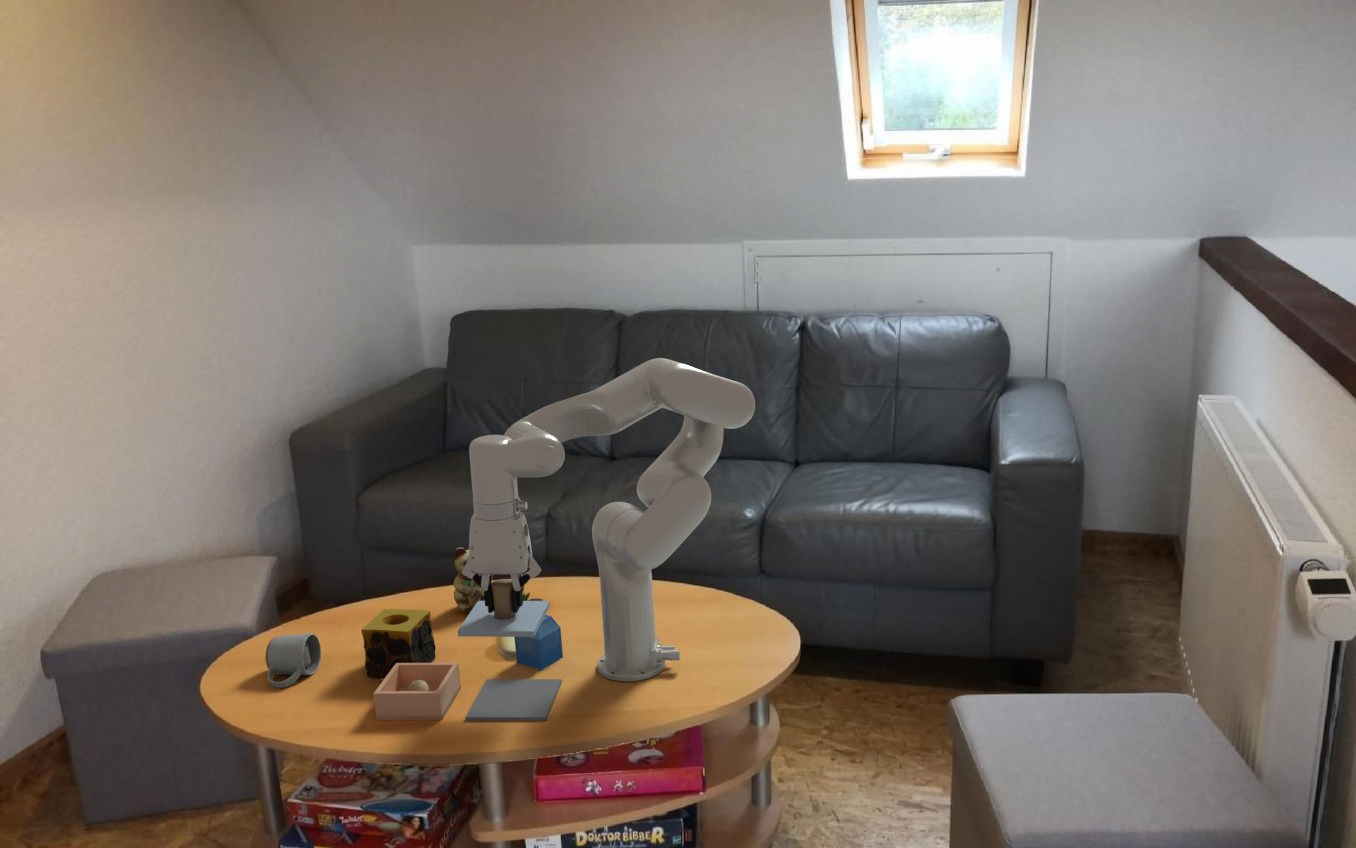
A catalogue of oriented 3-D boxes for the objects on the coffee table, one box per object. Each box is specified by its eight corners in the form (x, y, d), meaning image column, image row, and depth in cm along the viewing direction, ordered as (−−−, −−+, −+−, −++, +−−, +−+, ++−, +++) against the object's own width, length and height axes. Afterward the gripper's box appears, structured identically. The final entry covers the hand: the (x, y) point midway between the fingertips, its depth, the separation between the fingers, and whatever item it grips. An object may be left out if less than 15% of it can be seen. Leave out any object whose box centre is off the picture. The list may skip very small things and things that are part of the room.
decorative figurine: (461, 620, 234) (454, 552, 230) (449, 607, 241) (442, 541, 237) (505, 609, 238) (499, 542, 235) (492, 596, 245) (485, 531, 242)
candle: (415, 682, 207) (409, 632, 205) (365, 679, 210) (359, 630, 207) (437, 657, 217) (432, 609, 215) (389, 655, 219) (383, 607, 217)
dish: (461, 688, 204) (458, 662, 203) (442, 720, 193) (439, 693, 192) (399, 688, 205) (396, 663, 204) (376, 719, 194) (373, 693, 193)
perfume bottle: (562, 657, 214) (558, 598, 211) (541, 670, 209) (536, 610, 206) (538, 650, 218) (533, 593, 215) (516, 663, 213) (511, 604, 210)
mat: (561, 682, 204) (561, 679, 204) (546, 720, 191) (545, 717, 191) (486, 682, 206) (486, 679, 206) (465, 720, 192) (465, 717, 192)
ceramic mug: (283, 663, 218) (278, 626, 216) (324, 663, 217) (318, 627, 215) (258, 690, 208) (251, 652, 206) (300, 690, 207) (294, 652, 205)
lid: (549, 606, 200) (547, 569, 198) (534, 636, 187) (531, 597, 186) (478, 606, 201) (475, 569, 200) (458, 636, 189) (454, 597, 187)
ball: (432, 694, 200) (430, 676, 199) (426, 704, 197) (424, 685, 196) (412, 694, 201) (410, 676, 200) (406, 704, 197) (404, 685, 196)
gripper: (549, 501, 192) (556, 601, 197) (455, 502, 194) (463, 601, 198) (540, 515, 185) (547, 619, 189) (442, 516, 187) (451, 618, 191)
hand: (504, 609), depth 194 cm, fingers closed on lid, 3 cm apart
